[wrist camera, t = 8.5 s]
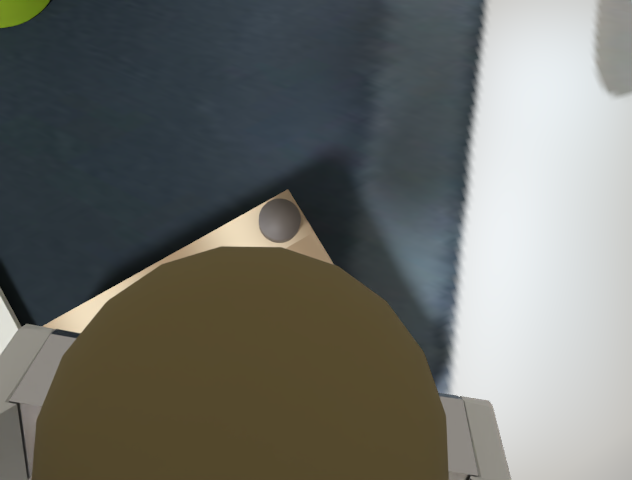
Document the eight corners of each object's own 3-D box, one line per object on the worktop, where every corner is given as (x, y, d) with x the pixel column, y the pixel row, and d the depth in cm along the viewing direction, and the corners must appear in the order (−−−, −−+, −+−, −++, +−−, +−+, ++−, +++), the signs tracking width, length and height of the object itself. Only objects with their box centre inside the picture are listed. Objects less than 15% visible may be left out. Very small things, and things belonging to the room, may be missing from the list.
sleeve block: (190, 565, 27) (178, 604, 23) (63, 332, 28) (29, 328, 24) (411, 418, 29) (438, 429, 25) (284, 207, 30) (289, 184, 26)
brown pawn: (343, 275, 18) (464, 153, 7) (379, 488, 17) (585, 722, 6) (135, 306, 17) (-78, 222, 6) (158, 531, 16) (-47, 877, 5)
